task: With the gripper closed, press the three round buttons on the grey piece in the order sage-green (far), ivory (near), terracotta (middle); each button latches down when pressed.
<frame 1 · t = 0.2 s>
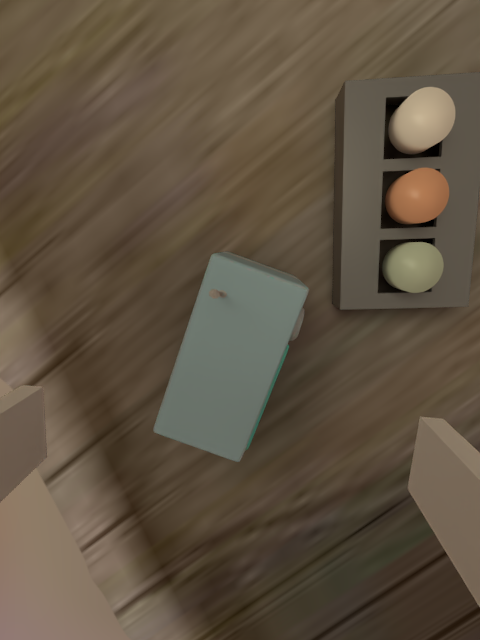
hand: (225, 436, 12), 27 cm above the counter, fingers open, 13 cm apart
button terracotta: (415, 197, 31), point 5 cm above the counter, slide at 0.0 cm
radio: (241, 331, 40), on the counter
button sage: (411, 267, 32), point 5 cm above the counter, slide at 0.0 cm
button ivory: (420, 122, 30), point 5 cm above the counter, slide at 0.0 cm
grey piece: (393, 204, 36), on the counter
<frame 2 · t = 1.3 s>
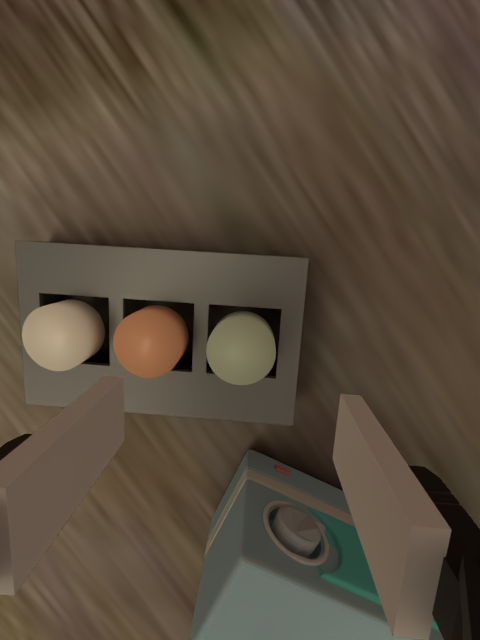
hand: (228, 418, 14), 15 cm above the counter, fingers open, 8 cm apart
button terracotta: (152, 340, 24), point 5 cm above the counter, slide at 0.0 cm
radio: (312, 507, 32), on the counter
button sage: (241, 346, 24), point 5 cm above the counter, slide at 0.0 cm
button ivory: (65, 334, 24), point 5 cm above the counter, slide at 0.0 cm
grey piece: (171, 324, 29), on the counter
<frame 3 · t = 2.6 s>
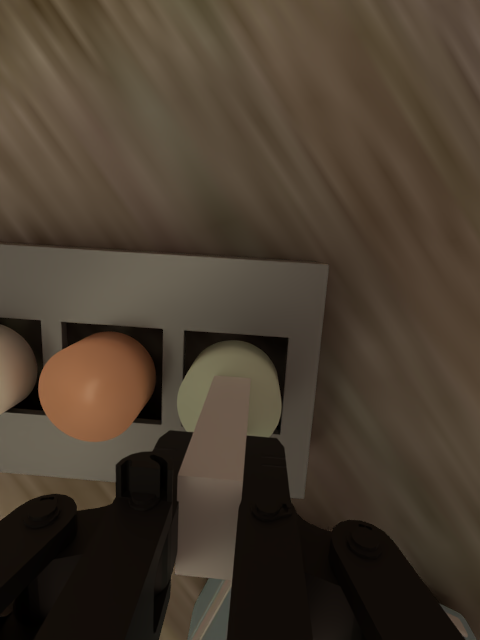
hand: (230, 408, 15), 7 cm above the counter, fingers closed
button terracotta: (101, 383, 16), point 5 cm above the counter, slide at 0.0 cm
radio: (326, 587, 25), on the counter
button sage: (231, 393, 16), point 5 cm above the counter, slide at 0.0 cm, touching gripper
grey piece: (139, 351, 22), on the counter
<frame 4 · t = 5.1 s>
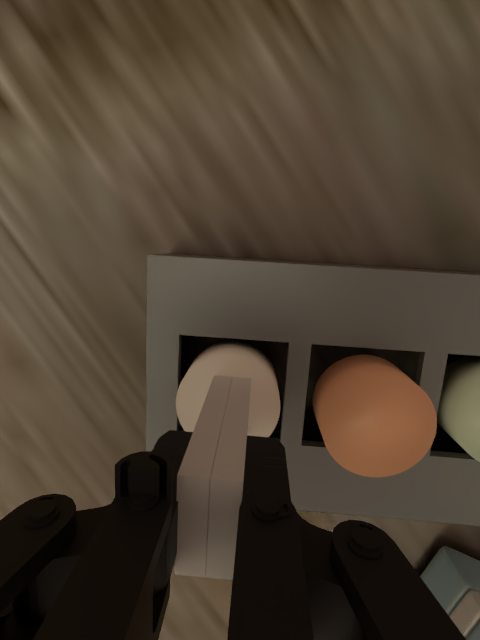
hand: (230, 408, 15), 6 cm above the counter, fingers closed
button terracotta: (369, 412, 15), point 5 cm above the counter, slide at 0.0 cm
button ivory: (230, 394, 16), point 4 cm above the counter, slide at 0.8 cm, touching gripper
grey piece: (341, 371, 20), on the counter
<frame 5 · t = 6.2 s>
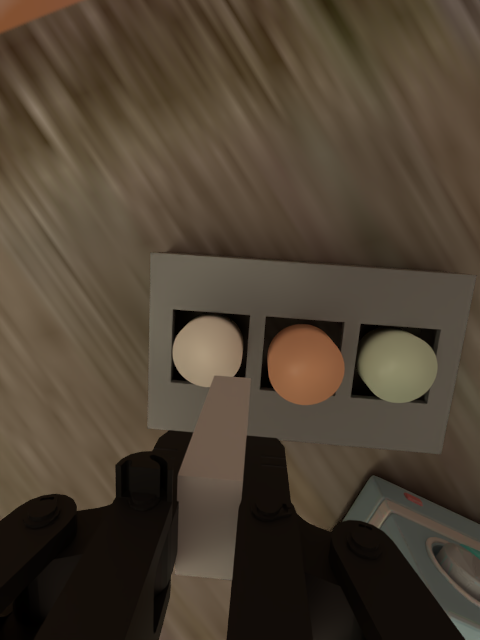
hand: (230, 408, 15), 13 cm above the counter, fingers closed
button terracotta: (303, 362, 22), point 5 cm above the counter, slide at 0.0 cm
radio: (430, 535, 30), on the counter
button sage: (393, 363, 23), point 4 cm above the counter, slide at 1.5 cm
button ivory: (209, 348, 24), point 4 cm above the counter, slide at 1.5 cm
grey piece: (294, 341, 27), on the counter
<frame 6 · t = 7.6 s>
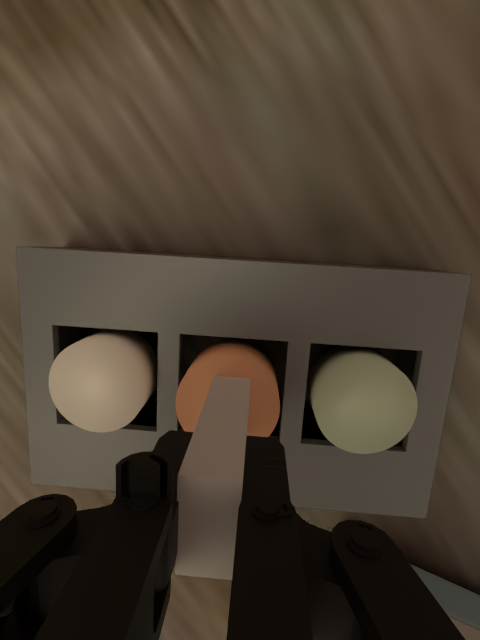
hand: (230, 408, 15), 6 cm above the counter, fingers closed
button terracotta: (229, 394, 16), point 5 cm above the counter, slide at 0.6 cm, touching gripper
radio: (417, 605, 24), on the counter
button sage: (358, 396, 17), point 4 cm above the counter, slide at 1.5 cm
button ivory: (107, 377, 17), point 4 cm above the counter, slide at 1.5 cm
grey piece: (236, 362, 21), on the counter
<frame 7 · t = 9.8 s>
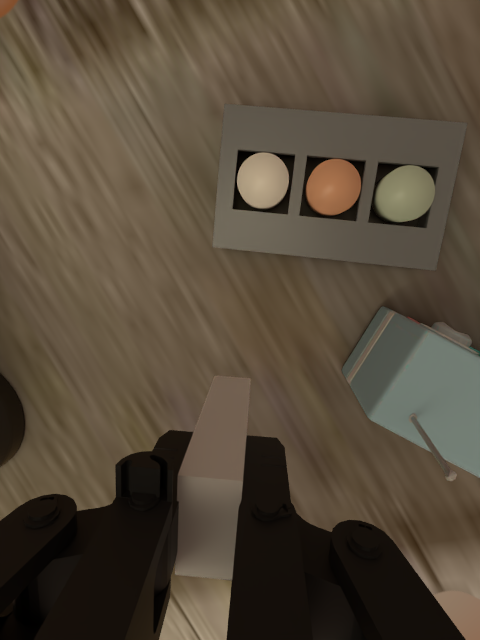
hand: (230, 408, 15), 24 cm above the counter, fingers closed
button terracotta: (331, 189, 31), point 4 cm above the counter, slide at 1.5 cm
radio: (426, 366, 38), on the counter
button sage: (401, 195, 31), point 4 cm above the counter, slide at 1.5 cm
button ivory: (263, 182, 32), point 4 cm above the counter, slide at 1.5 cm
grey piece: (325, 195, 35), on the counter
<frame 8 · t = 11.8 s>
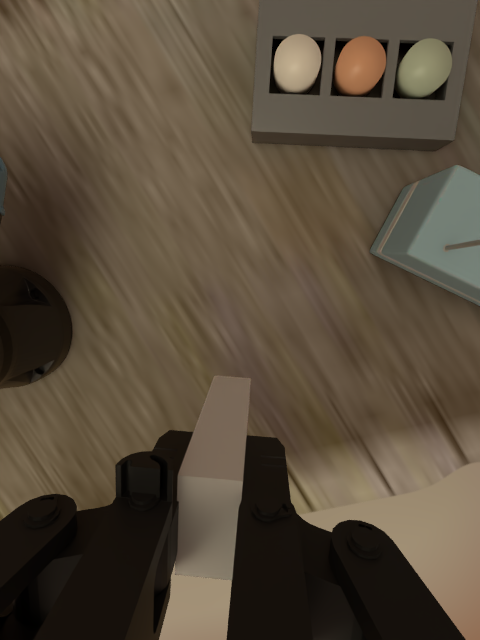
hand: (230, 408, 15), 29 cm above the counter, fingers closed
button terracotta: (358, 69, 35), point 4 cm above the counter, slide at 1.5 cm
radio: (445, 246, 41), on the counter
button sage: (421, 71, 34), point 4 cm above the counter, slide at 1.5 cm
button ivory: (296, 67, 35), point 4 cm above the counter, slide at 1.5 cm
grey piece: (349, 86, 38), on the counter
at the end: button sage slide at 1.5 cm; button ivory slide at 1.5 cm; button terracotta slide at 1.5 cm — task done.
